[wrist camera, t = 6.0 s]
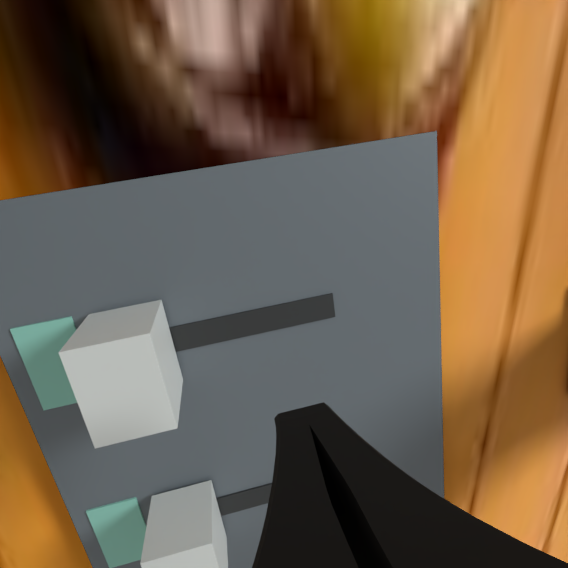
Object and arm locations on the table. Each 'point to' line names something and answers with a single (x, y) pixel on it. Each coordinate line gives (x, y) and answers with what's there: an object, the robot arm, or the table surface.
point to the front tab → (124, 373)
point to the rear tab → (185, 530)
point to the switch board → (234, 323)
